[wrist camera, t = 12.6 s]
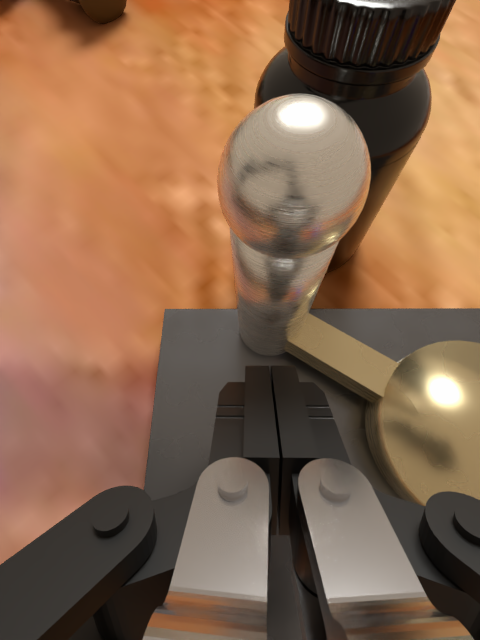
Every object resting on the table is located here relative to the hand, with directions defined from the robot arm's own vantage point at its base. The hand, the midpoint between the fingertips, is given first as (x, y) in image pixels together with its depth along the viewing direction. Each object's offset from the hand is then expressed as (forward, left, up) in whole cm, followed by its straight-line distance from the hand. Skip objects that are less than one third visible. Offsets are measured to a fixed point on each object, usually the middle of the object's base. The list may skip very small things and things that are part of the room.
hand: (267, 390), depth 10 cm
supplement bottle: (+3, +11, -7) cm, 13 cm away
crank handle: (+7, 0, -5) cm, 9 cm away
